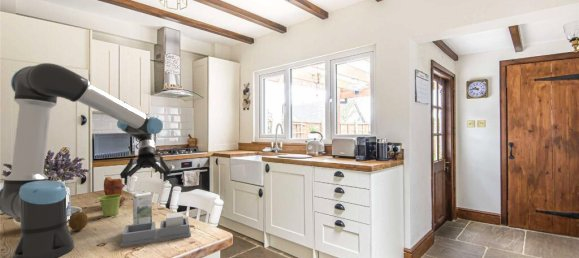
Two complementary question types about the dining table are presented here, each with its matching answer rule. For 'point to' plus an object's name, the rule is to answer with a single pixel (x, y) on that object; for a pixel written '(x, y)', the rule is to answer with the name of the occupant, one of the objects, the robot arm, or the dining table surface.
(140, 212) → the syrup box
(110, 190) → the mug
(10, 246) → the dining table surface
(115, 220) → the dining table surface
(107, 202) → the plant pot
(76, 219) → the fruit
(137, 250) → the dining table surface
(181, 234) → the grey box holder
